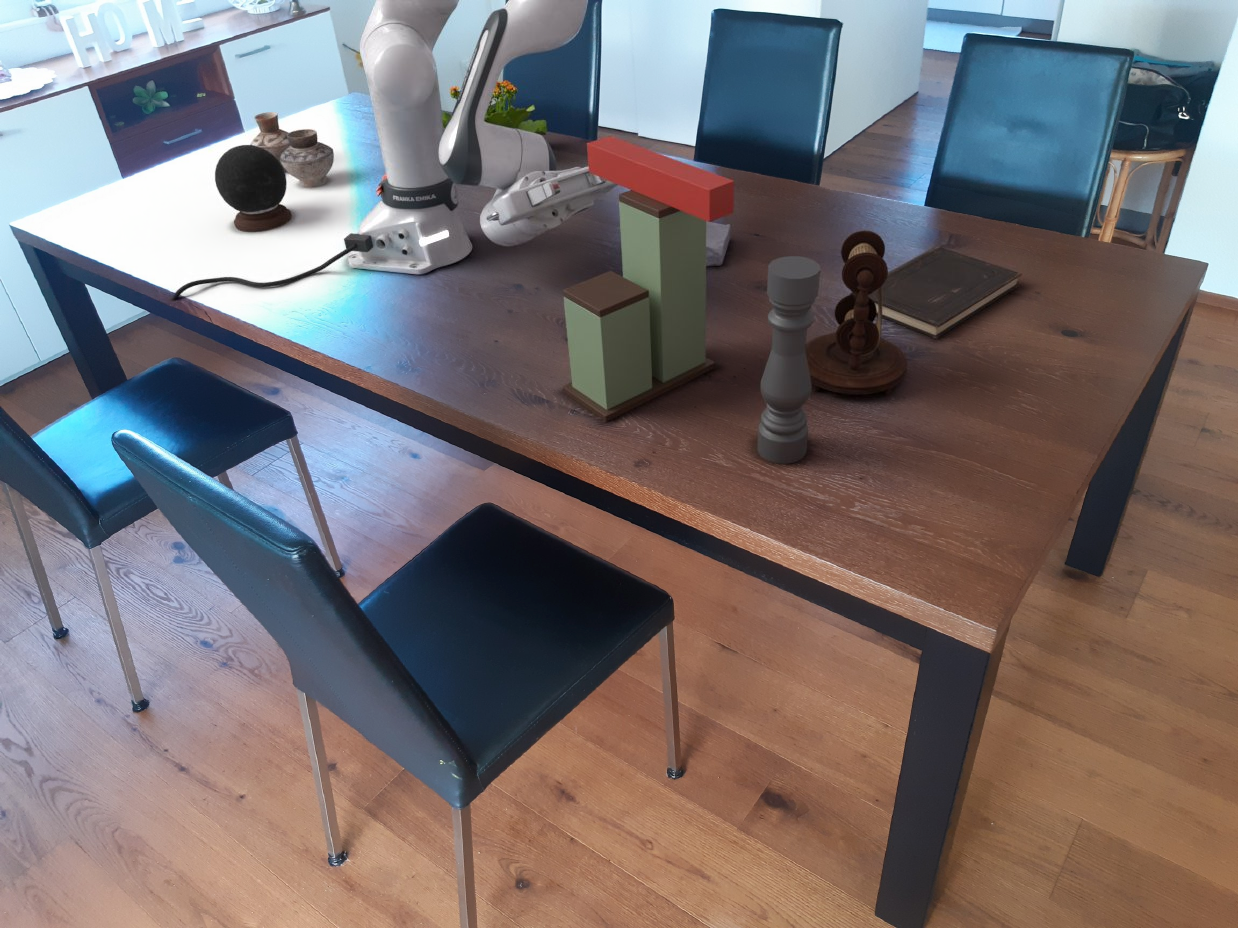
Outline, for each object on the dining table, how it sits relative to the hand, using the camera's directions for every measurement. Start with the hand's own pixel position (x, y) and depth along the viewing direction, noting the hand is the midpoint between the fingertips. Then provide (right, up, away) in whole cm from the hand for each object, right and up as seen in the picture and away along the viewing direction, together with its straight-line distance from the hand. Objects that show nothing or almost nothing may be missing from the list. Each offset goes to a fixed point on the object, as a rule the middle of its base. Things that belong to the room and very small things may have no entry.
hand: (582, 178), depth 129 cm
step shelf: (+8, -29, +1) cm, 30 cm away
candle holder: (+26, -39, -14) cm, 49 cm away
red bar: (+10, -6, -12) cm, 17 cm away
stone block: (+20, -3, +33) cm, 39 cm away
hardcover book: (+55, -14, +16) cm, 59 cm away
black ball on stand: (-67, +9, +56) cm, 88 cm away
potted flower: (-23, +26, +74) cm, 82 cm away
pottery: (-67, +24, +76) cm, 104 cm away
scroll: (+38, -28, -1) cm, 47 cm away
